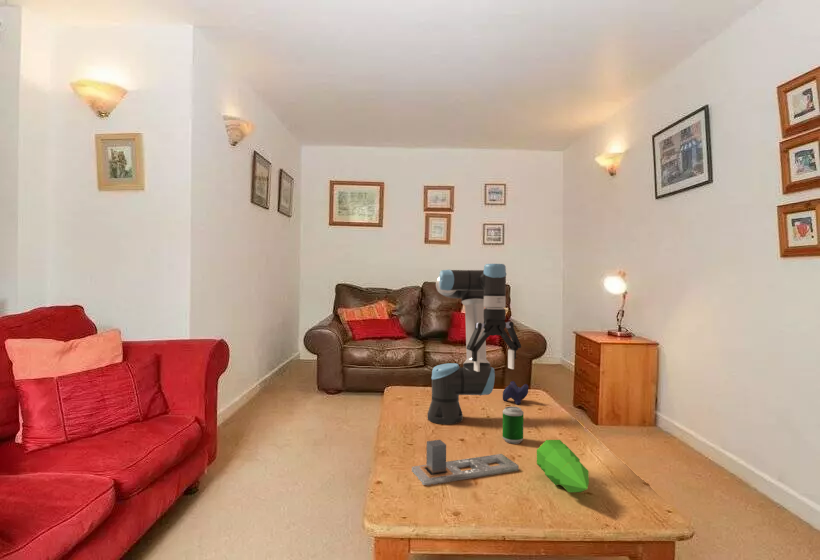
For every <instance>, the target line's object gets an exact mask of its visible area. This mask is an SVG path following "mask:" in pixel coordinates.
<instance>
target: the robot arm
mask: <svg viewBox="0 0 820 560" xmlns="http://www.w3.org/2000/svg"><path fill="white" fill-rule="evenodd" d="M506 269H507V268H506V265H505V264H504V263H485V264H484V267H483V270H482V269H470V270H469V269H468V270H467V269H443V270H442V269H441V270H440V271H439V276H438V278H436V281H435V289H436V292H437V293H439V294H440V295H442V296H443V297H445V298H449V299H460V300H461V304H462V305H463V306H464V312H465V316H464V317H465V344H466V345H465V348H466V354H465V355H466V360H465V361H464V362H463V363H462V365H463V366H462V367H461V366H460V365H459V363H455V362H454V363H451V362H450V363H442V364H438V365H436V366H434V367H433V368H432V369H431V370H432V371H431V402H430V405H429V408H428V411H427V414H426V415H427V418H428V419H427V421H428V422H431V423H433V424H439V425H455V424H459V423H462V422H463V419H464V418H463V417H464V415H463V411H462V407H461V404H460V402H459V401H460V397H459V396H488V395H491V393H492V392H493V391H494V388H495V387H494V385H495V377H496V374H495V368H494V367H492V366H491V362H490V361H488V359H487V345H486V344H487V342H486V341H487V339H488V338H489V337H490V336H501V338H502V340H503V341H504V342H505V343H506V345H507V346H508V348H509V349H508V350H507V368H508V369H510V370H515V360H516V359H517V351H518V350H519V349H520V348H522V344H521V341H520V339H519V337H518V335H517V332H516V330H515V328H514V326H515V325H514V322H513V321H506V318H507V317H506V316H507V315H506V312H507V311H506V309H505V308H506V306H507V305H506V293H507V291H506V289H507V287H506V286H507V282H506V281H507V279H506V278H507V270H506ZM505 328H506V329H507V331H506V330H505ZM507 332H508V333H507ZM508 334H509V335H508Z"/></svg>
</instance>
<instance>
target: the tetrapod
mask: <svg viewBox="0 0 820 560" xmlns="http://www.w3.org/2000/svg"><path fill="white" fill-rule="evenodd" d="M529 387H530V386H529V385H528V384H527V383H525V384H523V385H522V386H521V387H520V386H518V385H517V383H516V382H515V381H514V380H512V381H510V382H509V384H508V386H506V387H505V388H504V390H503V391H502V400H503V401H504V402H507V401H508V400H509V399H512V400H513V401H514V403H515V405H518V406H519V405H521V403H522V401H523V400H524V399H526V397H527V395H528V393H529V389H530V388H529Z"/></svg>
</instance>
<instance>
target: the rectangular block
mask: <svg viewBox="0 0 820 560" xmlns="http://www.w3.org/2000/svg"><path fill="white" fill-rule="evenodd" d="M446 462H447V443H445V442H443V441H442V439H435V440H428V441H427V440H426V465H427V469H426V470H427V471H428V472H429V473H430V474H431V475H435V474H441V473H446Z"/></svg>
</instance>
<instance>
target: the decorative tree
mask: <svg viewBox="0 0 820 560" xmlns="http://www.w3.org/2000/svg"><path fill="white" fill-rule="evenodd" d="M536 465H537V466H538V467H539V468H540V469H541V470H542V472H543V473H544V475H545V477H547V478H548V480H550V481H551V482H552V483H553V484H554V486H561V487H563V488H564V490H566V492H568V493H582V492H584V491H587V490H588V488H589V485H590V481H589V480H590V479H589V473H590V471H589V470H588V469H587V467H585V465H583V463H582V462H581V460H580V458H579V457H578V456H577V455H576V454H575V453H574V452H573V450H572V449H571V448H569V447H568V445H567V444H566V443H564V442H563V441H562V440H561V439H546V440H545V441H544V442H542V443H541V444H540V445H539V447H538V448H537V449H536Z"/></svg>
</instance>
